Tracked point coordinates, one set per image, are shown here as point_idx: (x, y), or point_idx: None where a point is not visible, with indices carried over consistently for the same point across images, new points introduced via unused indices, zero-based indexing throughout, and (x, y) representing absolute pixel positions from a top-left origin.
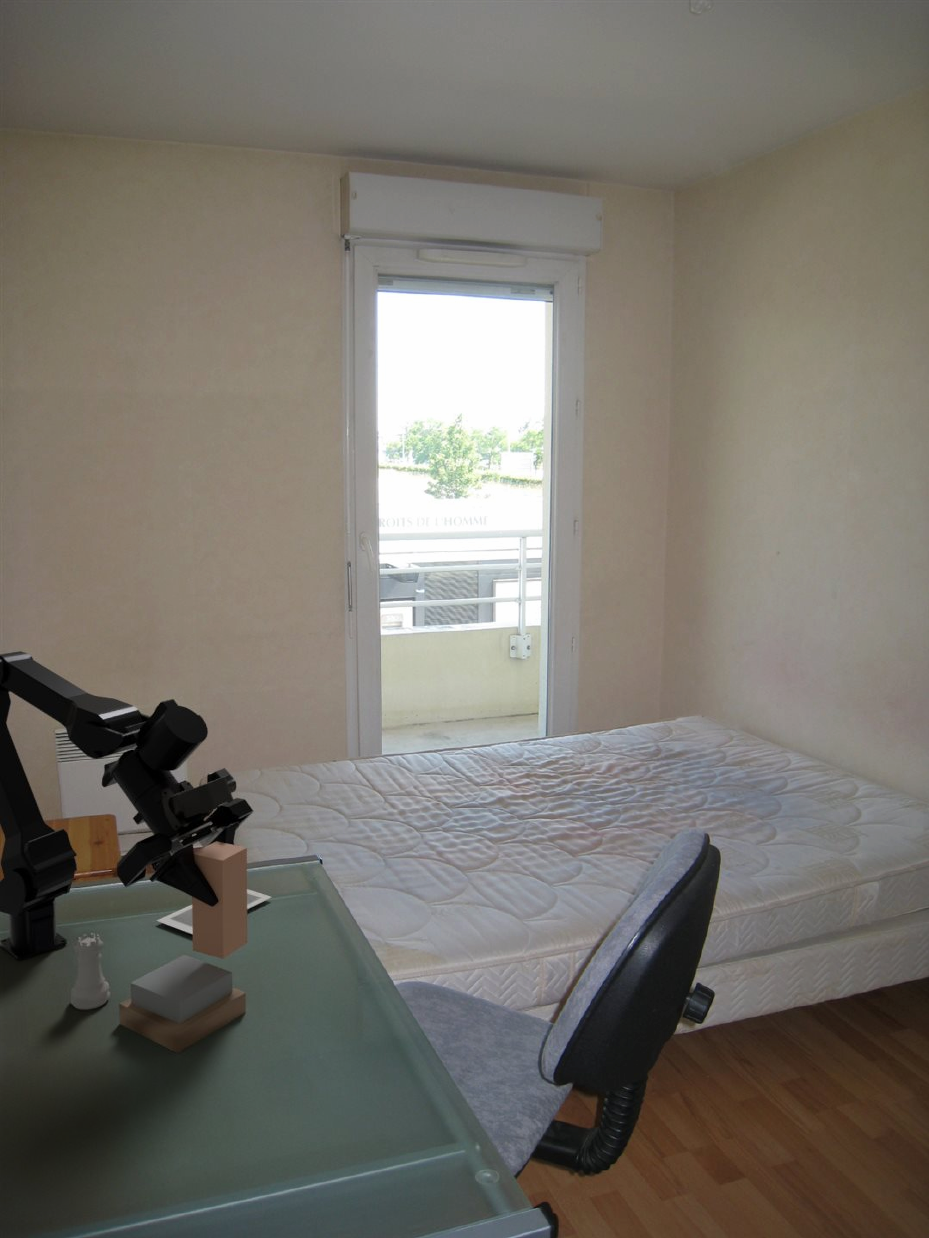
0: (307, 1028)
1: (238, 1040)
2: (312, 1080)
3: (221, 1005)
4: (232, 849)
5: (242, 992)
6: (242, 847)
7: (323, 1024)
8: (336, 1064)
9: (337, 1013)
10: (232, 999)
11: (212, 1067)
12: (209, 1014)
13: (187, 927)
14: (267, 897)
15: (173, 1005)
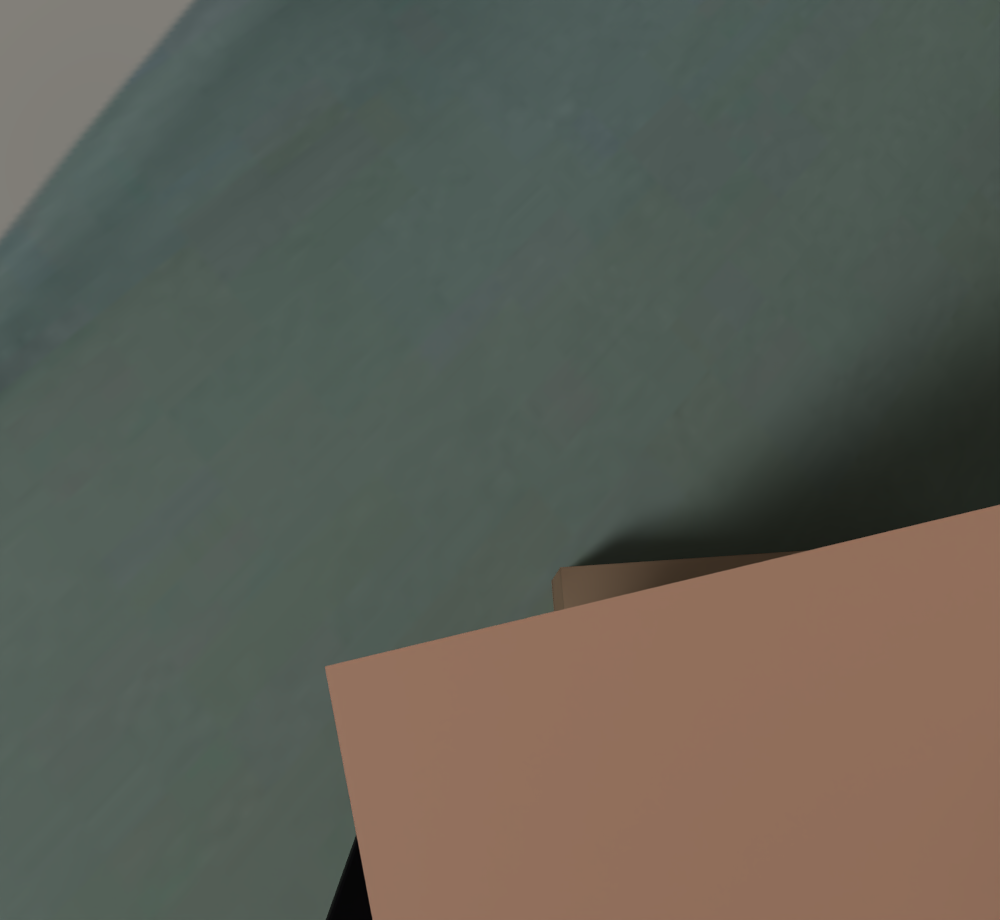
0: (463, 276)
1: (713, 428)
2: (684, 40)
3: (719, 564)
4: (689, 869)
5: (569, 582)
6: (397, 769)
7: (399, 248)
8: (562, 39)
9: (299, 260)
10: (647, 566)
11: (894, 363)
12: (801, 551)
13: None
14: None
15: None
